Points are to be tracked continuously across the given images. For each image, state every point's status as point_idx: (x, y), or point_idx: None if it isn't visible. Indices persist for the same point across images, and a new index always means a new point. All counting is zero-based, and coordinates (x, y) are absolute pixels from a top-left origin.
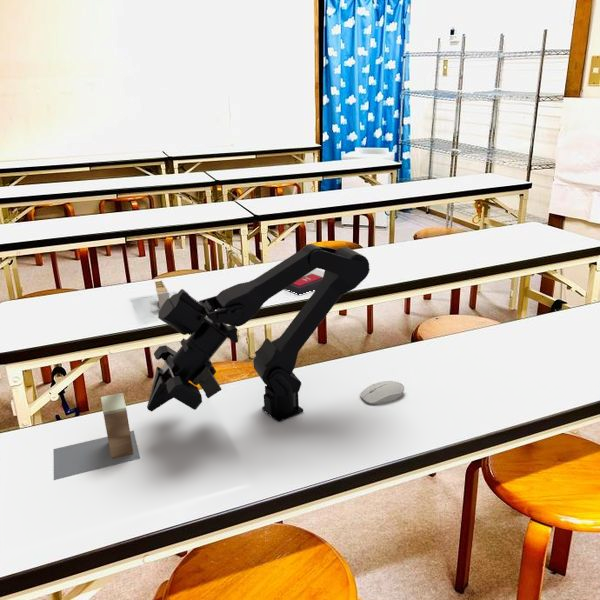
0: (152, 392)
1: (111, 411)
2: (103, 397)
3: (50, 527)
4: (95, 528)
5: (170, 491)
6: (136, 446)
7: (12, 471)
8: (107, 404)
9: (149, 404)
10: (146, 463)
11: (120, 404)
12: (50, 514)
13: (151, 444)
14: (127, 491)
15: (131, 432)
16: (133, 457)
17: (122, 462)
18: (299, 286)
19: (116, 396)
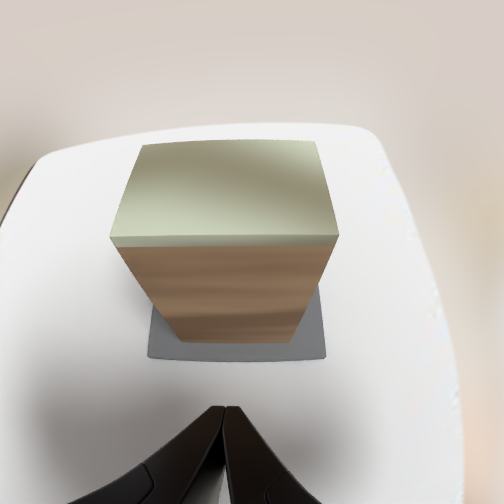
0: (227, 467)
1: (132, 174)
2: (305, 148)
3: (69, 182)
4: (21, 238)
5: (12, 383)
6: (219, 356)
7: (255, 128)
8: (213, 157)
9: (197, 419)
10: (129, 370)
11: (168, 210)
12: (95, 178)
13: (225, 407)
14: (57, 301)
15: (316, 349)
16: (162, 338)
17: (154, 305)
18: None
19: (292, 197)
